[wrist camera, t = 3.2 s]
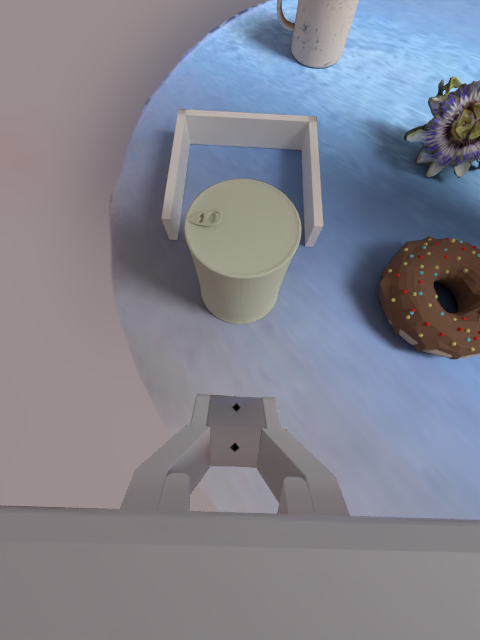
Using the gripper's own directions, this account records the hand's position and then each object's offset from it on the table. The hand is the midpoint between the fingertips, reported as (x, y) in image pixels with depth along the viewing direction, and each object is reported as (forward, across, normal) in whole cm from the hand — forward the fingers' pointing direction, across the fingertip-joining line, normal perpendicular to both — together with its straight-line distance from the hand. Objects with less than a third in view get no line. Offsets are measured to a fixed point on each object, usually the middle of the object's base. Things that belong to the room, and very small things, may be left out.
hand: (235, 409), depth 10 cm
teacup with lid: (+51, -10, -32) cm, 61 cm away
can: (+22, 0, +2) cm, 23 cm away
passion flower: (+36, -28, -16) cm, 49 cm away
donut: (+22, -23, +2) cm, 31 cm away
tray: (+31, 0, -9) cm, 33 cm away
